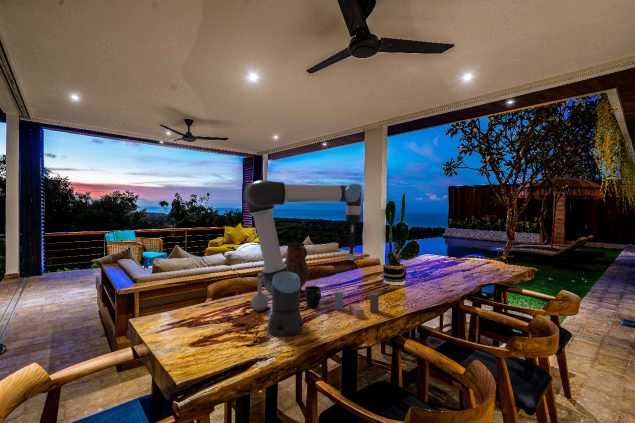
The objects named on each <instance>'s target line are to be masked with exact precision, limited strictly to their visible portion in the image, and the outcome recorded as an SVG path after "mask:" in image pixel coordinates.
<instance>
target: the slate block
mask: <svg viewBox="0 0 635 423" xmlns="http://www.w3.org/2000/svg"><path fill="white" fill-rule="evenodd" d="M343 309H344V290H338V289H336V290H335V291H334V311H343Z"/></svg>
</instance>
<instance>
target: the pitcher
mask: <svg viewBox="0 0 635 423" xmlns="http://www.w3.org/2000/svg"><path fill="white" fill-rule="evenodd" d="M286 246H287V247H286V248H287V253H286V258H285V260H284V263H286V264H287V268H288V272H292V273H295V274H297V275H298V276H299V278H300V295H301V294H303V293H304V290H303V289H302V288H303V287H304V285H305V284H306V283H307V281H308V280H309V274H310V271H309V267H308V266H309V265H308V264H307V260H306V258H307V255H308V251H307V247H306V246H305V242H287V244H286Z"/></svg>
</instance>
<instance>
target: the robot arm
mask: <svg viewBox="0 0 635 423" xmlns="http://www.w3.org/2000/svg"><path fill="white" fill-rule="evenodd" d="M362 194H363V193H362V185H361V184H357V183H356V184H355V183H349V184H347V185H346V184H345V185H342V184H341V185H337V184H328V185H327V184H287V183H285V182H284V181H272V180H266V179H259V180H256V181H252V182H250V183H248V185H247V186H246V187H245V188H244V191H243V199H244V202H245V203H246V205H247V206H246V207H247V210H248V214H249V215H251V216H252V217H253V220H254V226H255V229H256V234H257V238H258V242H259V243H258V244H259V247H260V251H261V255H262V259H263V260H262V261H263V263H264V266H263V268H262V273H263V275H262V277H264V279H263V281H262V283H263V286H264V289H265V290H266V291H267V292H268V293H269V294H270V295H271V297H272V298H271V307H272V308H271V314H270V317H269V320H268V322H267V332H268V333H269V334H270V335H273V336H276V337H284V338H285V337H287V338H288V337H293V336H297V335H299V334H301V333H302V332H303V330H304V322H303V319H302V318H303V317H302V315H301V312H300V303H301V302H300V299H301V297H300V296H301V294H300V278H299V276H298V275H297V274H295V273H292V272H288V268H287V264H286V263H285V261H283V257H282V253H281V252H282V251H281V247H280V243H279V238H278V233H277V230H276V225H275V220H274V215H273V211H274V210H275V206H278V205H279V206H281V205H285V204H286V203H325V202H326V203H327V202H328V203H346V204H345V222H348V223H350V224H349V225H348V234H349V245H348V246H347V248H348V261H354V260H355V248H357V247H356V245H355V237H356V236H355V235H356V234H357V225H356V223H360V222H361V212H362V210H363V208H362V207H361V206H362Z"/></svg>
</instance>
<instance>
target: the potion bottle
mask: <svg viewBox="0 0 635 423" xmlns="http://www.w3.org/2000/svg"><path fill="white" fill-rule="evenodd" d="M255 279H256V281H257V293H254V294H253V296H252V297H251V300H250V303H251V306H252V310H255V311H259V312H260V311H264V310H266V309H267V306H268V305H269V297H268V295H267V294H266V293H264V292H263V280H264V276H263V272H259V273H257V276H256V278H255Z"/></svg>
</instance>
